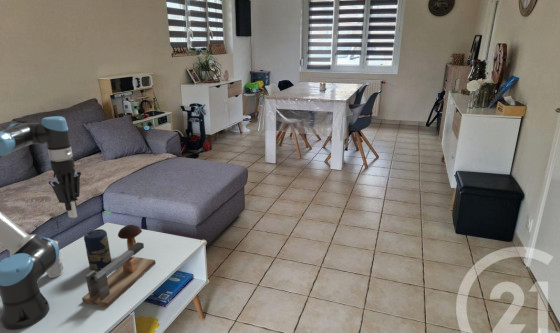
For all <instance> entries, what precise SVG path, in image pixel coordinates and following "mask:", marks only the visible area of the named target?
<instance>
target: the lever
mask: <svg viewBox="0 0 560 333" xmlns="http://www.w3.org/2000/svg"><path fill="white" fill-rule="evenodd" d="M144 247H145V244H144V243H143V242H137V241H136V244H135V245H133V246H132V247H131V248H129V249H128V248H127V249H126V251H124V252H123V253H122V254H121V255H119V256H118V257H116V258H115V259H114V260H111V263H110V264H108V265H107V266H106V267H104V268H103V269H99V271H97V272H96V274H95V275H93V276H92V277H91V280H92V281H97V280H96V278H97V277H98V276H99V275H101V274H102V273H103V272H105V273H106V275H107V277H108V276H110V275H111V274H112V273H113V272H115V271H116V270H117V269H118V268H120V267H121V266H122V264H123V263H124V262H126V261H127V260H128V259H129V258H131V257H134V256H135V255H136V254H137V253H139V252H140V251H141V250H143V249H144Z"/></svg>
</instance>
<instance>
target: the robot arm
mask: <svg viewBox="0 0 560 333" xmlns="http://www.w3.org/2000/svg"><path fill="white" fill-rule="evenodd" d="M70 139H71V138H70V132H69V127H68V124H67V120H66V118H65V117H63V116H60V115H56V116H48V117H47V116H45V117H43V118H42V119H41V122H28V123H27V122H26V123H25V122H24V123H23V122H17V123H11V124H10V125H9V126H8V127H7V128H6V129H5V128H4V129H3V130H0V159H2V158H4V157H6V156H8V155H10V154H11V153H13V152H15V151H18V150H20V149H23V148H26V147H27V146H30V145H46V147H47V153H48V157H49V160H50V167H51V170H52V172H53V179H52V180H50V181H48V185H49V186H51V188H52V190H53V193H54V195H55V197H56V198H57V201H58V203H62V204H64V207H65V210H66V211H67V215H68V218H72V219H75V218H77V217H78V213H77V201H78V200H79V199H78V198H79V197H80V193H81V192H80V188H81V187H80V185H81V184H80V182H81V181H80V180H81V179H80V178H81V175H82V173H81V171H77V170H76V168H75V166H76V165H75V160H74V158H73V155H74V154H73V149H72V145H71V140H70ZM55 241H56V240H53V239H52V238H49V237H39V236H38V235H37V234H29V233H28V232H27V231H26V230H24V229H23V228H22V227H20V226H19V225H18V224H17V223H15V222H14V221H13V220H11V219H10V218H9V217H8V216H7V215H6V214H4V213H3V212H2V211H0V246H2V247H3V248H5V249H6V250H7V251H8V252H9V256H8V257H5V258H4V259H2V260H1V261H0V299H1V302H2V308H1V309H2V310H1V316H0V322H1V325H2V327H3V328H4V329H8V330H19V329H23V328H26V327H30V326H32V325H34V324H36V323H38V322H40V321H41V320H42V319H44V317H46V316H47V314H48V313H49V311H50V304H49V301H48V300H47V299H46V297H45V296H44V294H42V292H41V291H40V286H39V283H38V281H39V279H41V278H42V277H43V276H44V275H45V273H46V271H47V270H48V269H49V268H50V267H52V266H53V265H54V264H55V262H56V261H57V259H58V257H59V252H60V247H59V244H58V245H57V244H56V242H55Z"/></svg>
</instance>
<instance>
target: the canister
mask: <svg viewBox="0 0 560 333" xmlns="http://www.w3.org/2000/svg"><path fill="white" fill-rule="evenodd" d="M83 240H84V244H85V246H84V247H85V250H86V256H87V260H88V265H89V267H90V269H91V270H94V271H96V270H97V271H98V270H99V271H100V270H102V269H103V268H104V267H106V266H107V265H108V264H110V263H111V262H112V256H111V251H110V250H111V249H110V244H109V237H108V233H107V231H106V230H105V229H101V228H100V229H98V228H97V229H93V230H90V231H87V232H86V233H85V234H84V236H83Z"/></svg>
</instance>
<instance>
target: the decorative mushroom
mask: <svg viewBox="0 0 560 333" xmlns="http://www.w3.org/2000/svg"><path fill="white" fill-rule="evenodd" d="M142 232H143V230H142V228H141V227H140V226H138V225H136V224H135V225H134V224H127V225H125V226H123V227H121V229H119V231H118V233H117V237H118V238H120V239H122V240H126V244H127V246H126V247H127V250H128V249H129V248H131V247H132V246H133V245H135V244H136V243H137V241H136V237H138V236H139V235H140V234H141V233H142Z"/></svg>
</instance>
